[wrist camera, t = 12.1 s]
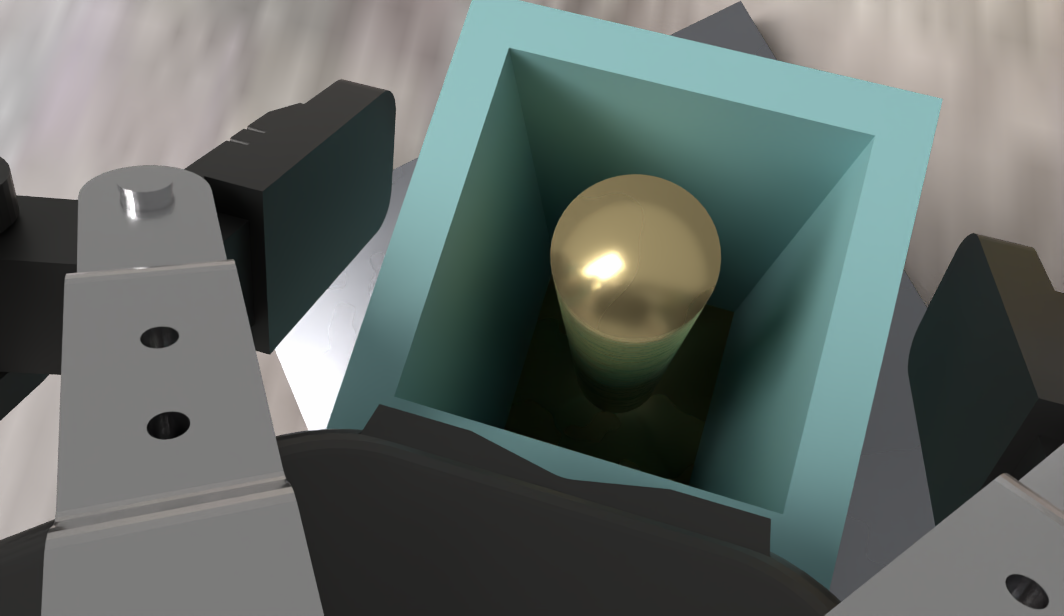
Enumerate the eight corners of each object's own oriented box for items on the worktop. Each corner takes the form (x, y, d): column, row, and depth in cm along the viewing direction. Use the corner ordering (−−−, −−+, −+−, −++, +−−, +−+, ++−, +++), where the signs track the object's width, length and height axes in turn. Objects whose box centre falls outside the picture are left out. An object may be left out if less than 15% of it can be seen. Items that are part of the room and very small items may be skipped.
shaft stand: (733, 26, 22) (880, -476, 11) (1030, 520, 19) (1691, 585, 8) (252, 259, 22) (-142, 11, 10) (478, 796, 19) (284, 1299, 7)
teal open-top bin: (537, 232, 20) (475, -10, 10) (767, 294, 19) (943, 99, 9) (467, 458, 19) (324, 434, 9) (706, 531, 18) (829, 592, 8)
